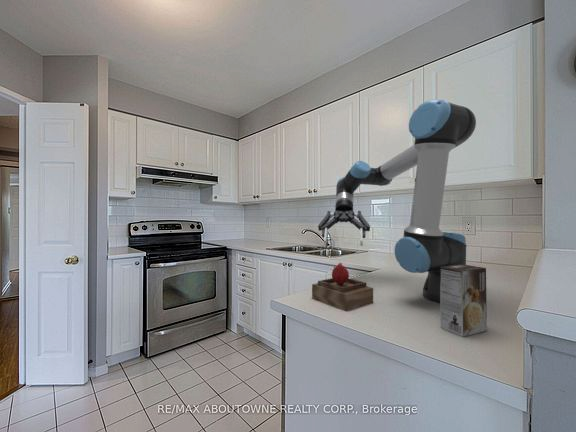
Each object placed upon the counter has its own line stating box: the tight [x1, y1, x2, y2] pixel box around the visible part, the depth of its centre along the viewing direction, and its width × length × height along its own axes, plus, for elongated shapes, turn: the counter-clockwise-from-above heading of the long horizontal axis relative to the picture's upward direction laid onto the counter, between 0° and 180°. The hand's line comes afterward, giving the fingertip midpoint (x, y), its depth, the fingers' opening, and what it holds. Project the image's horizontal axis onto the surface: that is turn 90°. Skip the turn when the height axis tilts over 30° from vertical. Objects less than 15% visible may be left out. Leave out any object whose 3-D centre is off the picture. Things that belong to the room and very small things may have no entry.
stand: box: [311, 277, 374, 312], centre depth 95 cm, size 16×13×6 cm
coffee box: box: [439, 264, 488, 338], centre depth 71 cm, size 9×6×16 cm
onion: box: [331, 261, 350, 286], centre depth 95 cm, size 6×6×8 cm
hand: (343, 243), depth 105 cm, fingers open, 13 cm apart
